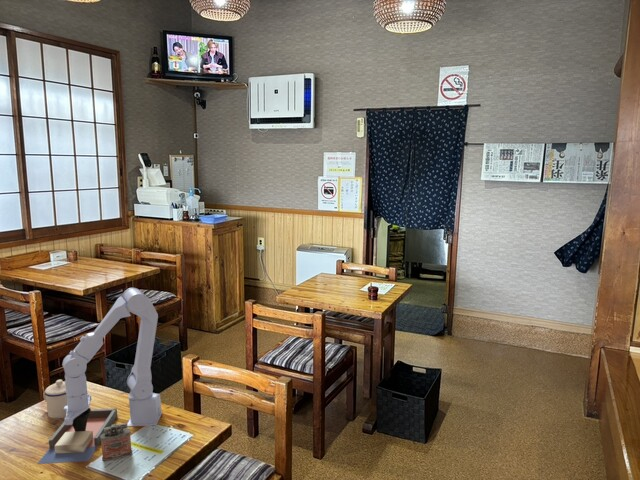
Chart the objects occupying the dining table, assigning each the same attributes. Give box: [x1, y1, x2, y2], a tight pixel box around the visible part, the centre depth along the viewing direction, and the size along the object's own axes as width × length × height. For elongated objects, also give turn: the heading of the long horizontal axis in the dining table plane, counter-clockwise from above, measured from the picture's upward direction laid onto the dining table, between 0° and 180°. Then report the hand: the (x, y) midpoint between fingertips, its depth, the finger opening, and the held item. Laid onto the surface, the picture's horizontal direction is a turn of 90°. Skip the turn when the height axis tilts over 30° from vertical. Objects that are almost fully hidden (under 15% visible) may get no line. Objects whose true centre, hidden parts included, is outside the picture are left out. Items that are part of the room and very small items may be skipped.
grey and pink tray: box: [48, 408, 118, 449], centre depth 150 cm, size 14×17×3 cm
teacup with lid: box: [42, 379, 67, 419], centre depth 161 cm, size 12×9×12 cm
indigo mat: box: [37, 446, 99, 465], centre depth 138 cm, size 14×7×1 cm, turn 95°
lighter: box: [100, 422, 133, 462], centre depth 137 cm, size 8×3×10 cm, turn 113°
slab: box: [55, 431, 93, 453], centre depth 142 cm, size 8×7×2 cm
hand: (80, 433), depth 147 cm, fingers closed
